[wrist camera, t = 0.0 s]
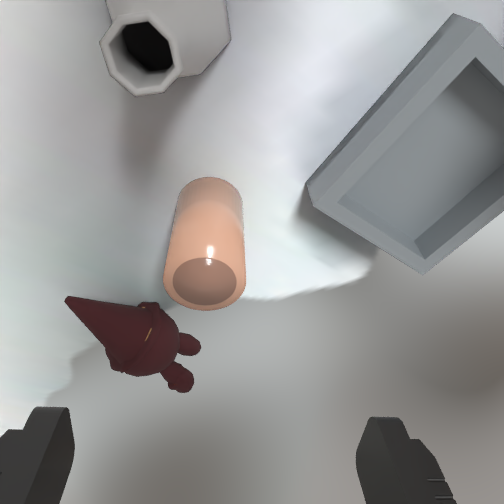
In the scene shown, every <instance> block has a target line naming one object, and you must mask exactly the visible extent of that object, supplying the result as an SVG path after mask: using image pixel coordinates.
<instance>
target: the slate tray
mask: <svg viewBox="0 0 504 504" xmlns="http://www.w3.org/2000/svg"><path fill="white" fill-rule="evenodd" d="M306 185H307V188H308V191H309V195H310V198H311V201H312V205H313V207H315V208H317V209H318V210H320V211H321V212H323V213H325V214H326V215H328V216H329V217H331V218H333V219H334V220H336V221H337V222H339V223H340V224H342V225H344V226H345V227H347V228H348V229H350V230H352V231H353V232H355V233H356V234H358V235H360V236H361V237H363V238H364V239H366V240H368V241H369V242H371V243H372V244H374V245H376V246H377V247H379V248H380V249H382V250H383V251H385V252H387V253H388V254H390V255H391V256H393V257H395V258H396V259H398V260H399V261H401V262H403V263H404V264H406V265H407V266H409V267H411V268H412V269H414V270H415V271H417V272H418V273H420V274H422V275H424V274H425V273H426V272H428V271H429V270H430V269H431V268H433V267H434V266H435V265H436V264H438V263H439V262H440V261H441V260H443V259H444V258H445V257H446V256H448V255H449V254H450V253H451V252H453V251H454V250H455V249H456V248H458V247H459V246H460V245H461V244H463V243H464V242H465V241H467V240H468V239H469V238H470V237H471V236H473V235H474V234H475V233H477V232H478V231H479V230H480V229H481V228H483V227H484V226H485V225H487V224H488V223H489V222H490V221H491V220H493V219H494V218H495V217H497V216H498V215H499V214H500V213H502V212H503V211H504V48H503V47H502V46H501V45H500V44H499V43H498V42H497V41H496V39H495V38H494V37H493V36H492V35H491V34H490V33H489V32H488V31H487V30H486V29H485V28H484V26H483V25H482V24H481V23H478V22H475V21H473V20H470V19H467V18H465V17H462V16H459V15H457V14H454V13H453V14H452V15H451V16H450V17H449V19H448V20H447V21H446V22H445V23H444V24H443V25H442V27H441V28H440V29H439V30H438V31H437V32H436V33H435V35H434V36H433V37H432V38H431V39H430V40H429V42H428V43H427V44H426V45H425V46H424V47H423V48H422V50H421V51H420V52H419V53H418V54H417V55H416V56H415V58H414V59H413V60H412V61H411V62H410V63H409V64H408V66H407V67H406V68H405V69H404V70H403V71H402V72H401V74H400V75H399V76H398V77H397V78H396V79H395V81H394V82H393V83H392V84H391V85H390V86H389V87H388V89H387V90H386V91H385V92H384V93H383V94H382V95H381V97H380V98H379V99H378V100H377V101H376V102H375V103H374V105H373V106H372V107H371V108H370V109H369V110H368V111H367V113H366V114H365V115H364V116H363V117H362V118H361V120H360V121H359V122H358V123H357V124H356V125H355V126H354V128H353V129H352V130H351V131H350V132H349V133H348V134H347V136H346V137H345V138H344V139H343V140H342V141H341V142H340V144H339V145H338V146H337V147H336V148H335V149H334V150H333V152H332V153H331V154H330V155H329V156H328V157H327V159H326V160H325V161H324V162H323V163H322V164H321V165H320V167H319V168H318V169H317V170H316V171H315V172H314V173H313V175H312V176H311V177H310V178H309V179H308V180H307V181H306Z"/></svg>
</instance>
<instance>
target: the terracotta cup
mask: <svg viewBox="0 0 504 504" xmlns="http://www.w3.org/2000/svg"><path fill="white" fill-rule="evenodd" d="M163 284H164V287H165V289H166V291H167V293H168V294H169V296H170V297H171V298H172V299H173V300H175V301H176V302H177V303H179V304H181V305H183V306H185V307H188V308H191V309H195V310H202V311H210V310H217V309H221V308H224V307H227V306H229V305H231V304H232V303H234V302H235V301H236V300H237V299H238V298H239V297H240V296H241V295H242V293H243V292H244V289H245V286H246V269H245V246H244V224H243V203H242V199H241V196H240V194H239V192H238V191H237V189H236V188H235V187H234V186H233V185H231V184H230V183H228V182H227V181H225V180H222V179H219V178H214V177H203V178H199V179H196V180H193V181H192V182H190V183H188V184H187V185H186V186H185V187H184V188H183V189H182V191H181V193H180V195H179V198H178V202H177V208H176V213H175V218H174V223H173V228H172V233H171V238H170V244H169V249H168V254H167V259H166V264H165V269H164V275H163Z"/></svg>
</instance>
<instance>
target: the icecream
mask: <svg viewBox="0 0 504 504" xmlns="http://www.w3.org/2000/svg"><path fill="white" fill-rule="evenodd" d="M64 302H65V303H66V304H67V305H68V307H69V308H70V309H71V310H72V311H73V312H74V313H75V315H76V316H77V317H78V318H79V319H80V320H81V321H82V322H83V323H84V324H85V326H86V327H87V328H88V329H89V330H90V331H91V332H92V333H93V334H94V336H95V337H96V338H97V339H98V340H99V341H100V342H101V343H102V344H103V345H104V347H105V351H106V355H107V357H108V358H109V360H110V366H111V368H112V369H113V370H115V371H120V372H121V373H123V372H125V373H126V374H129V375H133V376H136V377H137V376H138V377H139V376H147V375H152V374H155V373H159V372H160V373H161V375H162V376H163V377H164V379H165V380H166V381H167V382H168V387H169V388H170V389H171V390H176V391H178V392H180V393H185V392H189V391H190V390H191V388H192V386H193V384H194V378H193V374H192V373H191V372H190V371H189V370H187V369H186V368H184V367H183V366H182V365H181V364H179V363H176V362H175V361H174V359H175V357H176V355H177V353H179V354H181V355H186V356H193V355H196V354H197V353H198V352H199V351H200V349H201V345H200V342H199V341H198V340H197V339H195V338H194V337H193V336H191V335H190V334H185V333H179V330H178V327H177V325H176V324H175V322H174V320H173V319H172V318H170V317H169V316H168V315H167V314H166V313H165V312H164V311H163V310H162V309H160V306H159V304H158V303H156V302H153V303H149V302H142V303H140V304H139V305H138V307H135V306H128V305H122V304H115V303H109V302H102V301H96V300H90V299H84V298H79V297H72V296H68V297H67V298H66V299H65V301H64Z"/></svg>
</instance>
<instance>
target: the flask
mask: <svg viewBox="0 0 504 504" xmlns="http://www.w3.org/2000/svg"><path fill="white" fill-rule="evenodd" d="M106 4H107V7H108V10H109V13H110V17H111V20H112V25H111V26H110V28H109V29H108V30H107V32H106V33H105V35H104V36H103V37H102V39H101V40H100V41H99V44H100V47H101V50H102V53H103V56H104V59H105V62H106V65H107V68H108V71H109V74H110V76H111V77H113V78H114V79H115V80H116V81H117V82H118V83H120V84H121V85H122V86H123V87H124V88H125V89H126V90H128V91H129V92H130V93H131V94H132V95H133V96H135V97H139V96H146V95H153V94H159V93H164V92H165V91H166V90H167V89H168V87H169V86H170V85H171V84H172V83H173V82H174V80H175V79H176V78H179V77H186V76H193V75H199V74H201V73H202V72H203V71H204V70H205V69H206V68H207V67H208V65H209V64H210V63H211V62H212V61H213V60H214V59H215V58H216V56H217V55H218V54H219V53H220V52H221V51H222V50H223V49H224V47H225V46H226V45H227V44H228V43H229V42H230V41H231V34H230V27H229V20H228V13H227V6H226V0H106Z"/></svg>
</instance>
